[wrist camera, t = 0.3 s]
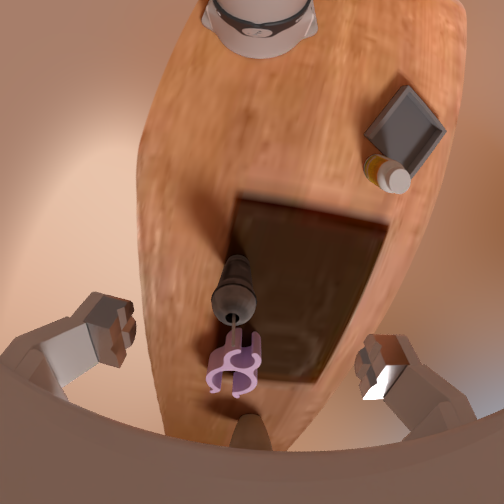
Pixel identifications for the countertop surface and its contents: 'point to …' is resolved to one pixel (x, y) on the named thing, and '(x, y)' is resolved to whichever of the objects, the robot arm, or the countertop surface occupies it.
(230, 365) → the clip
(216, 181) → the countertop surface
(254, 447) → the plant pot
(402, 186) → the supplement bottle
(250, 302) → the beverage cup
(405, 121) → the tray
